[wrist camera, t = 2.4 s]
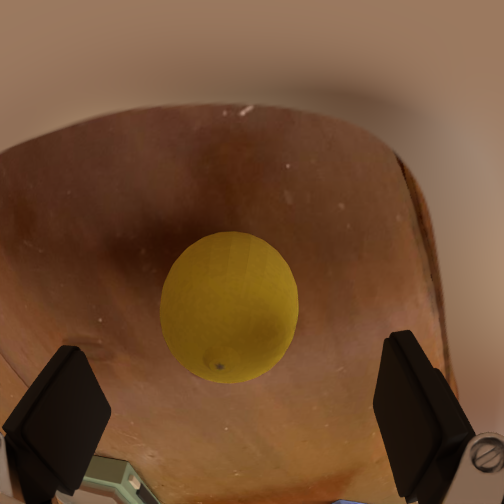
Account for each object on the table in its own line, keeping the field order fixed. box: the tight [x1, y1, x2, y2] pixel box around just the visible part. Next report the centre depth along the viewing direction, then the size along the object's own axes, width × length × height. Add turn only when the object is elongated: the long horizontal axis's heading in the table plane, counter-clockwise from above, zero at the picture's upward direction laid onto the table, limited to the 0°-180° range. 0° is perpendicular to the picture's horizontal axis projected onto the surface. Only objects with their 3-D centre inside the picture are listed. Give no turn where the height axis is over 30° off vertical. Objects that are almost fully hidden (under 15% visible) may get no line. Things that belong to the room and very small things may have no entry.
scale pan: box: [55, 480, 130, 504], centre depth 24 cm, size 11×11×1 cm
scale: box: [83, 455, 161, 504], centre depth 26 cm, size 14×13×3 cm
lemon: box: [160, 231, 299, 383], centre depth 13 cm, size 6×6×8 cm
